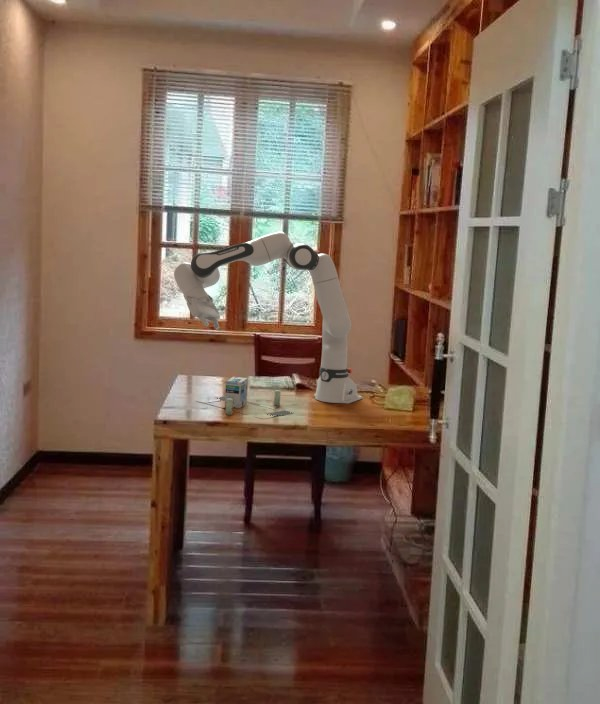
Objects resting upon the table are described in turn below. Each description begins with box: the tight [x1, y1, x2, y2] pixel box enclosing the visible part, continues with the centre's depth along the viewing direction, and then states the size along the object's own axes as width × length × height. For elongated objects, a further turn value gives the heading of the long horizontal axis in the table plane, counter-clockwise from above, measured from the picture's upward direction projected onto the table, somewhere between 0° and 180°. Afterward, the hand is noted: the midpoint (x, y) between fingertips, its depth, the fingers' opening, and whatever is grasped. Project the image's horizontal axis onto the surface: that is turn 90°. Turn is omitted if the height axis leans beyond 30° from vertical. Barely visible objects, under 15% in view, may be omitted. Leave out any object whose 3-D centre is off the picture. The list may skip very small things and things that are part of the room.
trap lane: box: [216, 389, 293, 417], centre depth 321 cm, size 30×38×6 cm
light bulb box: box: [224, 376, 249, 409], centre depth 323 cm, size 11×7×11 cm, turn 168°
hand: (212, 326), depth 323 cm, fingers open, 8 cm apart
